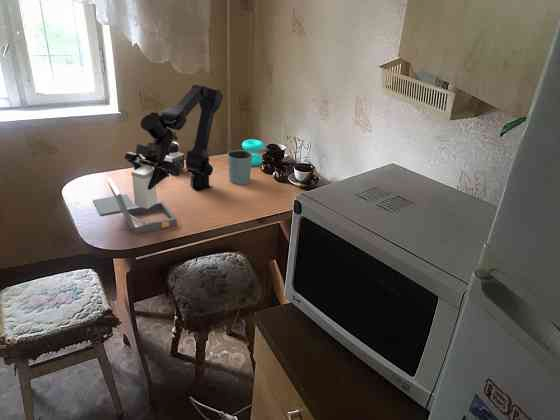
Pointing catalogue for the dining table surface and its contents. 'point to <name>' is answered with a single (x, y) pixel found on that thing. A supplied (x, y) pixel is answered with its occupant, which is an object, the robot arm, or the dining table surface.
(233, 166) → the grey teal cup
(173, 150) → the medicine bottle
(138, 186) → the block
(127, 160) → the robot arm
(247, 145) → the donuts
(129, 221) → the equipment case
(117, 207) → the slate mat
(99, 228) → the dining table surface
